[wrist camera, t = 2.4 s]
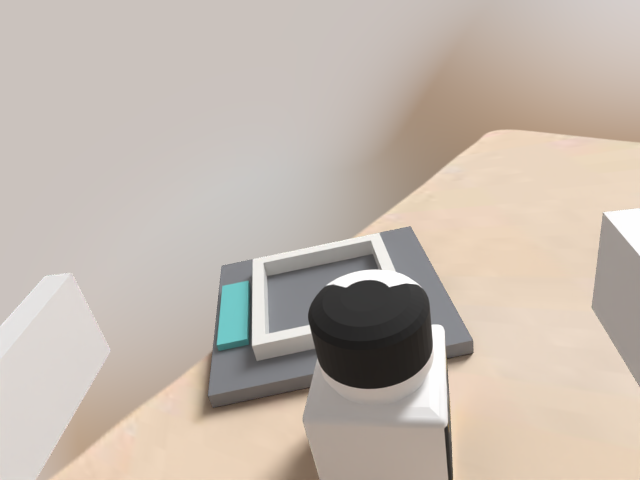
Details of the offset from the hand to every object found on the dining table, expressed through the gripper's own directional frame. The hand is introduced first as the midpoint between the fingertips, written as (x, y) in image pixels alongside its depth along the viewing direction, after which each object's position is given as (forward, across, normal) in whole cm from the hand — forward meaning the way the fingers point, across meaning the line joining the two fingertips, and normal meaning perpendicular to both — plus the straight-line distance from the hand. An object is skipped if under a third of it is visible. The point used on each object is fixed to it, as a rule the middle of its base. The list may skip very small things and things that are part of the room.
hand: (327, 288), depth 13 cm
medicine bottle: (+10, 0, -20) cm, 22 cm away
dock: (+24, -4, -20) cm, 32 cm away
